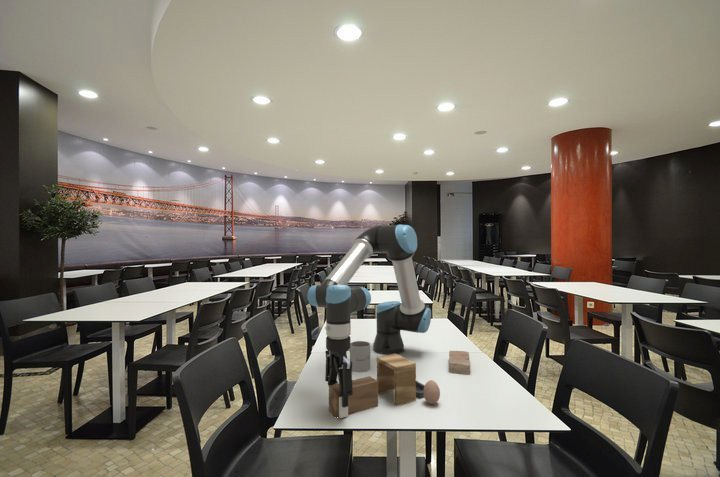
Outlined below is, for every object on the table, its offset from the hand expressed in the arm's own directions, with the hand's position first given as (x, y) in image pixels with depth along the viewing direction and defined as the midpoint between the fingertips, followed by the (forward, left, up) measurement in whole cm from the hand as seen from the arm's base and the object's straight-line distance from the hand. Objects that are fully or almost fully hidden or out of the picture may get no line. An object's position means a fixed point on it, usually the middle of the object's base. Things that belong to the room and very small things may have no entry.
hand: (338, 411), depth 102 cm
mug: (-29, +23, -1) cm, 37 cm away
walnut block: (0, +5, -1) cm, 5 cm away
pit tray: (0, +31, 0) cm, 31 cm away
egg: (+10, +29, -1) cm, 31 cm away
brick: (-8, +62, -1) cm, 62 cm away
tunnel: (0, +22, 0) cm, 22 cm away
